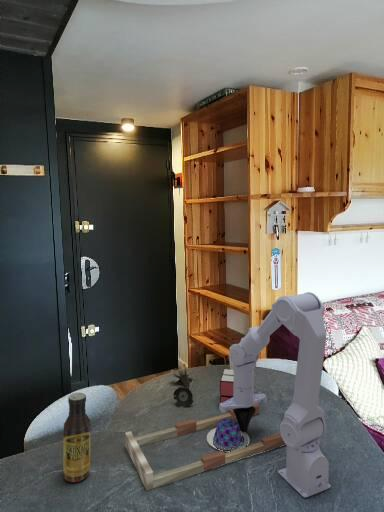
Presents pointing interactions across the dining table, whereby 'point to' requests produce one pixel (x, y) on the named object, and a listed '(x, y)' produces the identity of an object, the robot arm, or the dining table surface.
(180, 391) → the artificial flower
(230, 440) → the pudding
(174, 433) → the track
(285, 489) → the dining table surface
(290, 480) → the robot arm
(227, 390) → the puzzle cube
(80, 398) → the sauce bottle
